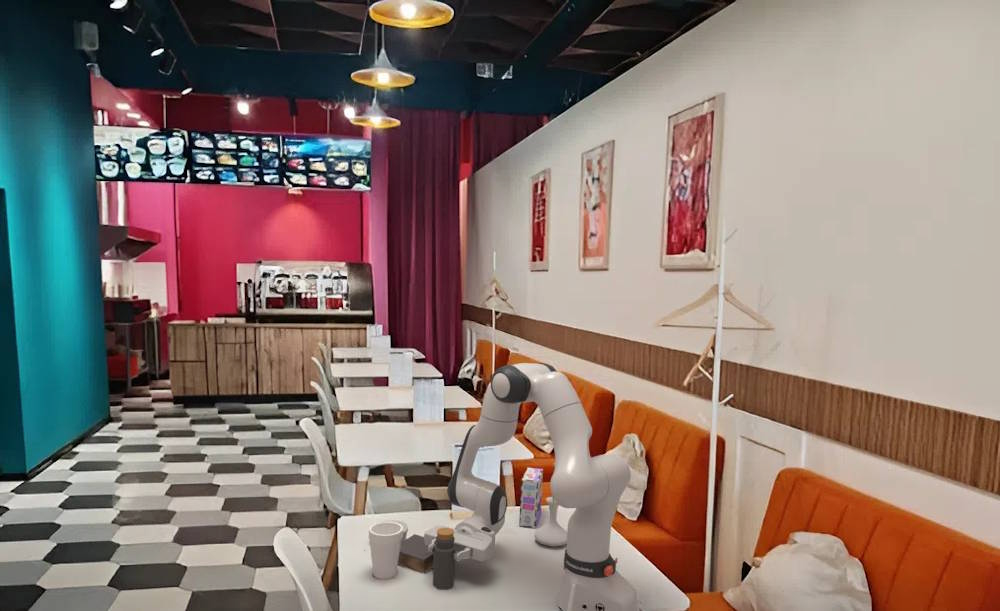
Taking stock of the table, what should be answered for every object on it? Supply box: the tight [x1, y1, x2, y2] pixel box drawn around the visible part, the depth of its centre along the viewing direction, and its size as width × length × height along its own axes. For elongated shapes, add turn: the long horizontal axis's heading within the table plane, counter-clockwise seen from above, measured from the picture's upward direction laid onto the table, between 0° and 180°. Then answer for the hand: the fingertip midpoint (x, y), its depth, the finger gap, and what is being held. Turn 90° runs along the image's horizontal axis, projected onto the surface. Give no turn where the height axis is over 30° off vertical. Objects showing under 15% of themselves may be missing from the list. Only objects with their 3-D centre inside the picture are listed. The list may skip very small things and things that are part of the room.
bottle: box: [432, 527, 456, 590], centre depth 174 cm, size 6×6×15 cm
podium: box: [397, 534, 434, 574], centre depth 188 cm, size 12×12×4 cm
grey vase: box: [533, 462, 567, 547], centre depth 204 cm, size 13×11×25 cm
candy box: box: [518, 467, 544, 529], centre depth 220 cm, size 14×6×16 cm, turn 168°
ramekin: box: [377, 519, 409, 542], centre depth 198 cm, size 11×11×5 cm
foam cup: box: [368, 521, 403, 580], centre depth 179 cm, size 10×9×13 cm
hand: (443, 553), depth 173 cm, fingers open, 7 cm apart
